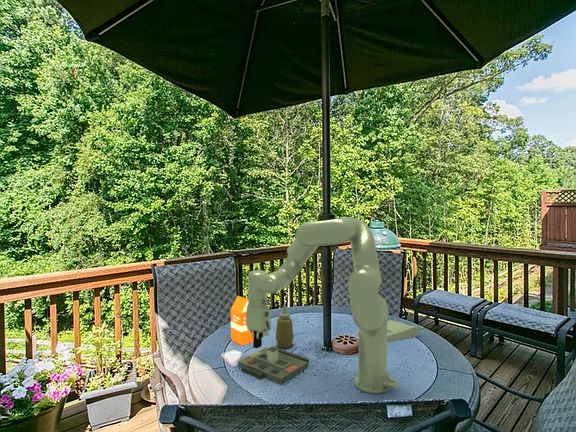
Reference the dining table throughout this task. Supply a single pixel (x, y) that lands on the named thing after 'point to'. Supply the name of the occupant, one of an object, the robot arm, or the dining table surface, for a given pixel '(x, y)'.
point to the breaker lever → (272, 354)
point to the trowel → (400, 331)
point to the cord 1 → (252, 372)
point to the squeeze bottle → (284, 329)
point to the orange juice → (240, 322)
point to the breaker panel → (274, 366)
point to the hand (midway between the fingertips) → (257, 346)
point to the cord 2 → (293, 355)
